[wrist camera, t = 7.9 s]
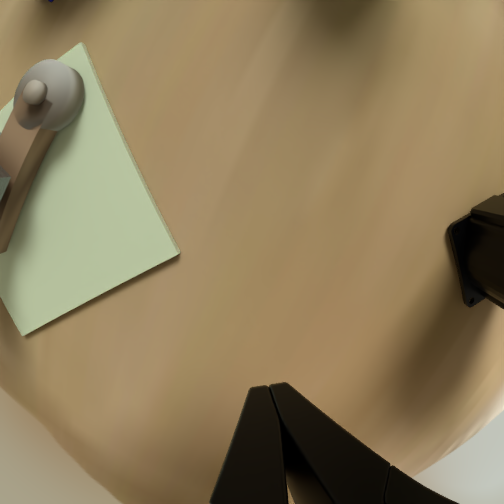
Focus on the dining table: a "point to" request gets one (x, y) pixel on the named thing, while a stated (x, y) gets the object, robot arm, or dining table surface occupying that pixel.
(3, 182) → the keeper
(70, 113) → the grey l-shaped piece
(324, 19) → the dining table surface
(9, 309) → the plate
